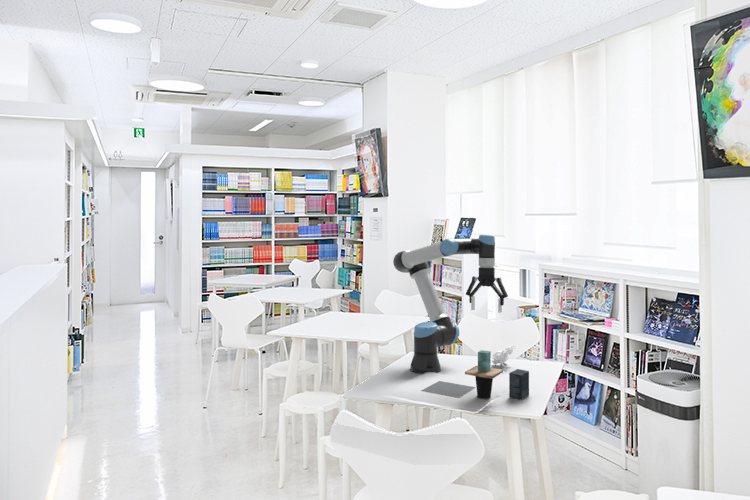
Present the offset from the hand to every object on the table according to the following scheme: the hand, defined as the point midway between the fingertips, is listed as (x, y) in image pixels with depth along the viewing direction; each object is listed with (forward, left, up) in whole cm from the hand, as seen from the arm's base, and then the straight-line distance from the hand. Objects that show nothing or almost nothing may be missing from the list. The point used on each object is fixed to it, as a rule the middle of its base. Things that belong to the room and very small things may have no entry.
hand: (486, 311), depth 252 cm
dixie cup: (+12, -33, -32) cm, 47 cm away
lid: (+12, -33, -21) cm, 41 cm away
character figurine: (0, +25, -32) cm, 41 cm away
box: (+23, -21, -32) cm, 45 cm away
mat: (-5, -31, -32) cm, 45 cm away
